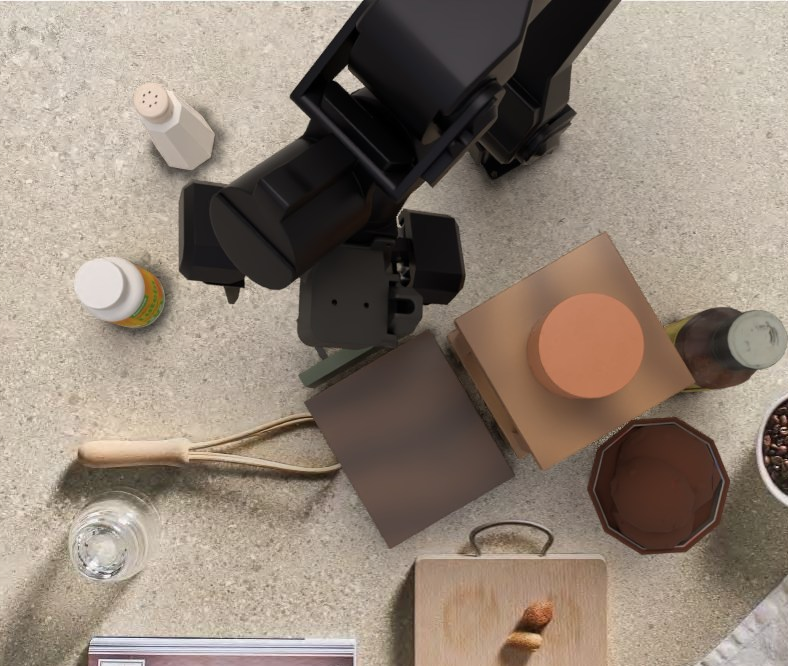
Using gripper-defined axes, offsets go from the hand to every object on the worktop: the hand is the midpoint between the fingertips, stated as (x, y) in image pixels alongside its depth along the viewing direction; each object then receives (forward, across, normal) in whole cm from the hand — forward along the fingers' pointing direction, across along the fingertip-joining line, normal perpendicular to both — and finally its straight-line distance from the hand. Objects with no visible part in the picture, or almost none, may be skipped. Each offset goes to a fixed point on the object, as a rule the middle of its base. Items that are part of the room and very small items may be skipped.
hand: (293, 304), depth 65 cm
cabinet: (+13, +14, -5) cm, 19 cm away
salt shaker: (+11, -6, +22) cm, 25 cm away
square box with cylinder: (+7, +23, -1) cm, 24 cm away
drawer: (+11, +11, -1) cm, 16 cm away
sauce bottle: (+2, +35, -1) cm, 35 cm away
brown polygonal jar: (+7, +32, -10) cm, 34 cm away
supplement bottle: (+17, -10, +9) cm, 22 cm away
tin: (-14, +14, -9) cm, 21 cm away
